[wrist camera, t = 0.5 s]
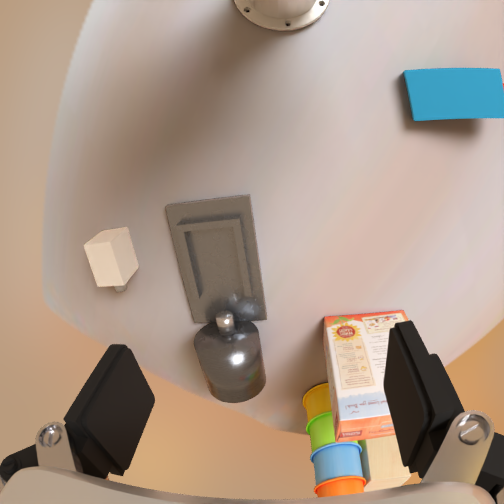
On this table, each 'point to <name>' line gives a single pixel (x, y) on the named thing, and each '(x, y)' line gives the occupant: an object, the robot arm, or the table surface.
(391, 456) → the toy refrigerator
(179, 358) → the table surface
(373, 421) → the cracker box
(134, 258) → the block
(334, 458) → the stacking cups
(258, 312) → the electric bell
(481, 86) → the blue ramp
